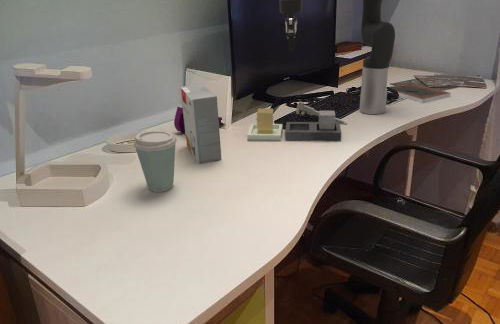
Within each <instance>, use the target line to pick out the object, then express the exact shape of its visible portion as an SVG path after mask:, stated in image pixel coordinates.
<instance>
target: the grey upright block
mask: <svg viewBox="0 0 500 324" xmlns="http://www.w3.org/2000/svg"><path fill="white" fill-rule="evenodd" d="M335 118H336V112H335V110H319V116H318V122H319V131H335Z"/></svg>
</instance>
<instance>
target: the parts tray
mask: <svg viewBox="0 0 500 324" xmlns="http://www.w3.org/2000/svg"><path fill="white" fill-rule="evenodd" d="M282 134H283V123H273V134H257V123H251V124H250V126H249V130H248V132H247V135H246V137H247V142H249V141H253V142H281V140H282Z"/></svg>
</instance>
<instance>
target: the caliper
mask: <svg viewBox="0 0 500 324" xmlns="http://www.w3.org/2000/svg"><path fill="white" fill-rule="evenodd" d="M319 111H320V110H319ZM319 111H318V110H315V108H313V107H310V106H308V105H306V104H305V101H304V102H302V101H301V100H300V101H299V103H297V105H296V108H295V115H296V114H299V115H301V114H302V115H303V114H304V115H305V114H307V115H310V116H311V117H313V116H316V117H319ZM300 112H301V113H300ZM304 115H303V116H304ZM335 122H339V123H340V125H344V126H346V125H348V123H347V122H345V120H343V119H341V118H337V117H335Z"/></svg>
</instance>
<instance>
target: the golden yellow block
mask: <svg viewBox="0 0 500 324" xmlns="http://www.w3.org/2000/svg"><path fill="white" fill-rule="evenodd" d="M256 124H257V134H273V124H274V108H258V109H257V112H256Z"/></svg>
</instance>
